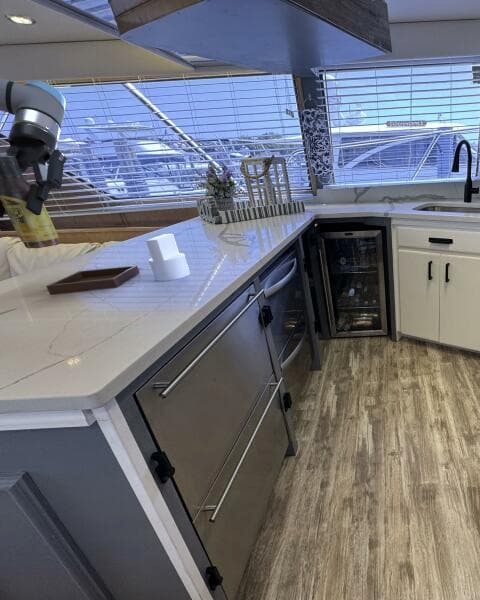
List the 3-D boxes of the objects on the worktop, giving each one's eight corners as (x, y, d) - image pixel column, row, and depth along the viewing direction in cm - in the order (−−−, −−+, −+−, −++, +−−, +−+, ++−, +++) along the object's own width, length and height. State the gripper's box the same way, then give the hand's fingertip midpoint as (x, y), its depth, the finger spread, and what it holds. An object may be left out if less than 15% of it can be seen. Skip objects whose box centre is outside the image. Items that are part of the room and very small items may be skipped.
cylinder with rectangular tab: (165, 272, 102) (152, 234, 97) (195, 270, 102) (184, 232, 98) (148, 282, 93) (133, 241, 89) (181, 279, 94) (167, 239, 89)
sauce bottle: (20, 248, 76) (-30, 156, 68) (54, 242, 81) (12, 156, 73) (34, 250, 73) (-16, 155, 65) (68, 243, 78) (26, 155, 70)
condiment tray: (50, 294, 87) (45, 286, 86) (82, 278, 99) (78, 271, 98) (116, 287, 90) (113, 279, 89) (139, 273, 102) (137, 265, 101)
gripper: (92, 146, 84) (78, 219, 76) (2, 149, 80) (-22, 226, 72) (69, 121, 77) (51, 198, 69) (-30, 122, 73) (-62, 204, 65)
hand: (14, 212), depth 70 cm, fingers closed on sauce bottle, 6 cm apart
